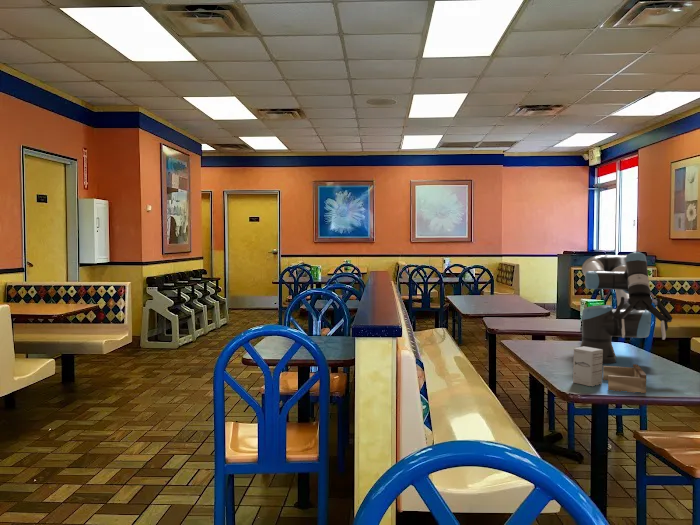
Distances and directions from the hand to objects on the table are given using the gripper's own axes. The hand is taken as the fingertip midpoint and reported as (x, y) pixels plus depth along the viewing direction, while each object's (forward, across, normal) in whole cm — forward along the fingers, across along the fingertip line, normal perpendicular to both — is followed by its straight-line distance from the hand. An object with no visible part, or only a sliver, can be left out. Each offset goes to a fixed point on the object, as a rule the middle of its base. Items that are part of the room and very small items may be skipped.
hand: (643, 337), depth 215 cm
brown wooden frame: (+21, -9, -3) cm, 23 cm away
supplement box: (+21, -20, -3) cm, 30 cm away
